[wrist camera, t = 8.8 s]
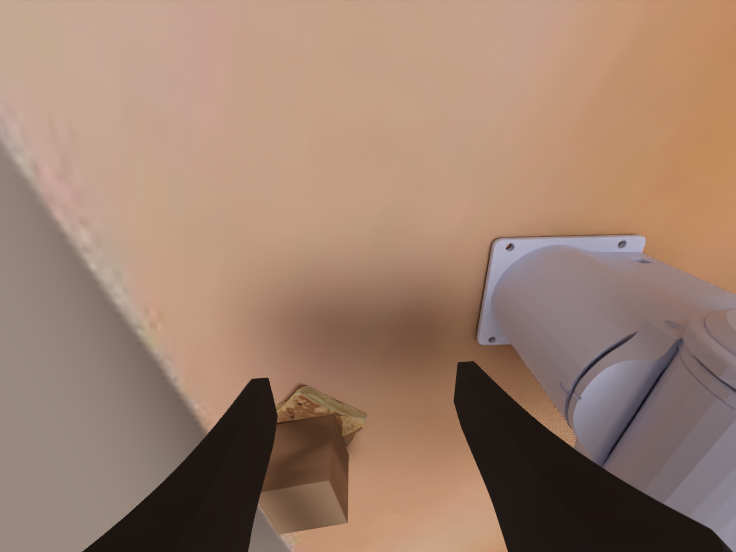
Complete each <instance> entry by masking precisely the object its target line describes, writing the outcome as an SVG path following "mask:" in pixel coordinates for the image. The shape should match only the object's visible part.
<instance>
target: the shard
mask: <svg viewBox="0 0 736 552" xmlns="http://www.w3.org/2000/svg"><path fill="white" fill-rule="evenodd" d="M275 406H276V410H277V414H278V419H277V425H278V424H283V423H288V422H294V421H299V420H305V419H310V418H315V417H321V416H326V415H332V414H334V417H335V419H336V422H337V425H338V428H339V430H340V433H341V436H342V438H343V441H344V444H345V447H347V446H348V445H349V444H350V443H351V441H352V440H353V439H354V438H355V436H356V434H357V433H358V432H359V431H360V430H361V429H362V428H363V426H364V424H365V420H366V414H365V412H362V411H360V410H358V409H355V408H352V407H350V406H348V405H346V404H343V403H340V402H338V401H336V400H334V399H332V398H331V397H329V396H327V395H325V394H323V393H321V392H318V391H316V390H314V389H312V388H310V387H309V386H304V387H301V388H299V389H298V390H297V391H296V392H295V393H294V394H293V395H292V396H291V398H290V399H289V400H288V401H287V402H283V403H281V404H278V405H275Z"/></svg>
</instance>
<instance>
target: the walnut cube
mask: <svg viewBox="0 0 736 552" xmlns="http://www.w3.org/2000/svg"><path fill="white" fill-rule="evenodd" d="M348 460H349V455H348V452H347V449H346V447H345V444H344V441H343V438H342V436H341V433H340V430H339V428H338V425H337V422H336V419H335V417H334V414H332V415H326V416H321V417H315V418H310V419H305V420H299V421H294V422H288V423H283V424H278V425H277V426H276V433H275V439H274V445H273V449H272V453H271V457H270V461H269V464H268V468H267V472H266V476H265V479H264V483H263V487H262V491H261V494H260V498H259V502H258V503H259V504H260V506H261V508H262V509H263V511H264V512H265V514H266V515H267V517H268V519H269V520H270V522H271V523H272V525H273V526H274V528H275V530H276V531H277V533H278V534H285V533H291V532H297V531H303V530H309V529H315V528H321V527H327V526H333V525H339V524H345V523H348Z"/></svg>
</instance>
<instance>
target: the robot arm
mask: <svg viewBox="0 0 736 552" xmlns="http://www.w3.org/2000/svg"><path fill="white" fill-rule="evenodd" d="M621 241H622V242H621ZM619 242H621V244H620V245H618V244H619ZM510 243H512V245H511V247H510V248H509V249H506V246H507V245H508V244H510ZM645 243H646V239H645V238H644V237H643V236H640V235H597V236H558V237H519V238H499V239H497V240H495V241H494V242H493V244H492V248H491V254H490V260H489V266H488V272H487V278H486V284H485V289H484V295H483V301H482V307H481V313H480V319H479V325H478V331H477V337H476V339H477V341H478V343H479V344H480V345H506V344H511V345H512V346H513V347H514V349H515V350H516V352H517V353H518V355H519V356H520V357H521V359H522V360H523V362H524V363H525V364H526V366H527V367H528V369H529V370H530V372H531V373H532V374H533V376H534V377H535V379H536V380H537V381H538V383H539V384H540V386H541V387H542V388H543V390H544V391H545V393H546V394H547V396H548V397H549V398H550V400H551V401H552V403H553V404H554V405H555V407H556V408H557V410H558V411H559V412H560V414H561V415H562V417H563V418H564V420H565V421H566V422H567V424H568V425H569V426H570V428H571V429H572V431H573V433H574V434H575V437H576V444H575V446H574V448H573V447H571V446H570V445H568V444H567V443H566V442H564V441H563V440H562V439H560V438H559V437H558V436H556V435H555V434H554V433H552V432H551V431H550V430H548V429H547V428H546V427H545V426H543V425H542V424H541V423H540V422H539V421H537V420H536V419H535V418H534V417H533V416H531V415H530V414H529V413H528V412H527V411H526V410H524V409H523V408H522V407H521V406H520V405H519V404H518V403H517V402H516V401H514V400H513V399H512V398H511V397H510V396H509V395H508V394H507V393H506V392H505V391H504V390H503V389H502V388H500V387H499V386H498V385H497V384H496V383H495V382H494V381H493V380H492V379H491V378H490V377H489V376H488V375H487V374H486V373H485V372H484V371H483V370H482V369H481V368H480V367H479V366H478V365H477V364H476V363H475V362H474V361H470V362H458V365H457V375H456V384H455V394H454V404H455V407H456V411H457V414H458V418H459V421H460V424H461V428H462V430H463V433H464V435H465V437H466V440H467V442H468V445H469V447H470V450H471V452H472V454H473V457H474V459H475V461H476V464H477V466H478V468H479V471H480V473H481V476H482V478H483V480H484V483H485V485H486V487H487V490H488V493H489V495H490V498H491V500H492V503H493V506H494V509H495V512H496V515H497V518H498V521H499V525H500V528H501V531H502V534H503V537H504V540H505V543H506V547H507V550H508V552H736V294H734V293H731V292H729V291H727V290H725V289H722V288H720V287H718V286H716V285H713V284H711V283H709V282H707V281H704V280H702V279H700V278H698V277H695V276H693V275H691V274H689V273H686V272H684V271H682V270H680V269H677V268H675V267H673V266H671V265H668V264H666V263H664V262H662V261H659V260H657V259H655V258H653V257H650V256H648V255H646V254H644V253H642V251H643V248H644V246H645ZM490 337H493V338H492V339H489V338H490ZM277 419H278V414H277V410H276V406H275V402H274V398H273V394H272V390H271V386H270V382H269V378H257V379H251V380H250V382H249V383H248V384H247V385H246V387H245V388H244V389H243V391H242V392H241V393H240V395H239V396H238V397H237V399H236V400H235V401H234V402H233V404H232V405H231V406H230V408H229V409H228V410H227V411H226V413H225V414H224V415H223V416H222V417H221V419H220V420H219V421H218V422H217V424H216V425H215V426H214V427H213V429H212V430H211V431H210V432H209V433H208V434H207V436H206V437H205V438H204V439H203V440H202V441H201V442H200V443H199V445H198V446H197V447H196V448H195V449H194V450H193V451H192V452H191V454H190V455H189V456H188V457H187V458H186V459H185V460H184V461H183V462H182V463H181V464H180V465H179V466H178V467H177V468H176V469H175V471H173V472H172V473H171V474H170V475H169V477H167V478H166V479H165V481H164V482H162V483H161V484H160V485H159V486H158V487H157V488H156V489H155V490H154V491H153V492H152V493H151V494H150V495H149V496H147V497H146V498H145V499H144V500H143V501H142V502H141V503H140V504H139V505H137V506H136V507H135V508H134V509H133V510H132V511H131V512H130V513H129V514H127V515H126V516H125V517H124V518H123V519H122V520H121V521H119V522H118V523H117V524H116V525H115V526H113V527H112V528H111V529H110V530H109V531H107V532H106V533H105V534H104V535H103V536H101V537H100V538H99V539H98V540H96V541H95V542H94V543H93V544H91V545H90V546H89V547H88V548H86V549H85V550H84V551H83V552H248V548H249V543H250V538H251V532H252V527H253V522H254V518H255V513H256V509H257V506H258V502H259V498H260V494H261V491H262V487H263V483H264V479H265V476H266V472H267V468H268V464H269V461H270V457H271V453H272V449H273V445H274V439H275V433H276V426H277Z"/></svg>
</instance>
